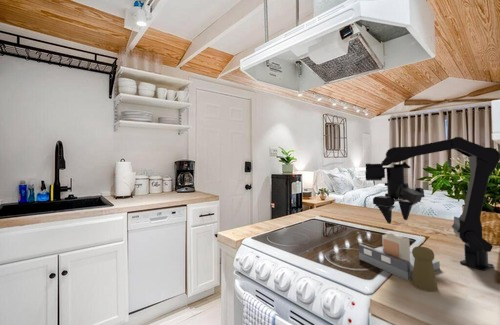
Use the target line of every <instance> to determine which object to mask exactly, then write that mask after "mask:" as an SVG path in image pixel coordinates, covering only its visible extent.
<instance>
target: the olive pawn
mask: <svg viewBox="0 0 500 325" xmlns="http://www.w3.org/2000/svg"><path fill="white" fill-rule="evenodd" d="M411 250H412V251H411V252H412V254H413V257H414V258H415V260H414V269H413V278H412V279H411V285H412V286H413V287H414V288H416V289H418V290H421V291H424V292H437V291H438V283H437V278H436V274H435V271H434V268H433V263H432V261H433V260H435V253H434V251H433V249H431V248H429V247H426V246H415V247H412V249H411Z"/></svg>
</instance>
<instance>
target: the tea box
mask: <svg viewBox="0 0 500 325" xmlns="http://www.w3.org/2000/svg"><path fill="white" fill-rule="evenodd" d="M381 239H382V240H381V241H382V242H381V243H382V246H383V252H385V253H387V254H390V255H393V256H396V257H398V258H401V259H404V260H407V261H409V262H410V252H411V246H410V238H408V237H406V236H405V237H404V236H401V235H397V234H394V233H388V234H387V233H386V234H383V235H382V236H381Z"/></svg>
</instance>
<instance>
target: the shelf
mask: <svg viewBox="0 0 500 325" xmlns="http://www.w3.org/2000/svg"><path fill="white" fill-rule="evenodd" d="M358 259H359V260H361V261H362V262H365V263H367V264H370V265H372V266H373V267H376V268H379V269H381V270H383V271H385V270H386V271H385V272H387V271H388V272H387V273H389V274H390V273H391V274H392V275H395V276H397V277H399V278H402V279H404V280H405V281H412V278H413V269H414V260H415V258H414V257H413V254H412V251H410V262H409V261H407V260H404V259H401V258H398V257H396V256H393V255H390V254H387V253H385V252H383V245H382V246H378V247H375V248H373V247H371V246H368V245H365V244H363V243H360V244H358ZM432 263H433V268H434V272H435V271H438V270H440V268H441V267H440V264H441V262H440V261H439V260H437V259H434V260H433V261H432Z"/></svg>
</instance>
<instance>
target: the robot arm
mask: <svg viewBox="0 0 500 325" xmlns="http://www.w3.org/2000/svg"><path fill="white" fill-rule="evenodd" d="M449 150H455V151H456V152H458V153H460V154H461V155H463V156H465V157H466V158H468V165H469V166H468V167H469V170H470V177H469V182H468V187H467V191H466V195H465V196H466V197H465V200H464V206H463V210H462V214H461V215H460V216H459V217H458V216H454V217H453V224H452V225H451V228H452V229H453V233H454V234H455V235H456V237H458V238H459V239H460V240H461V242H462V243H464V245H463V248H464V259H463V260H460V261H459V264H461V265H465V266H469V267H471V268H474V269H478V270H480V271H486V270H489V269H491V268H494V266H495V264H493V263H489V253H490V252H491V251H492V249H493V247H494V246H493V245H492V244H491V243H490V242H488V241H487V240H486V239H485V238H483V226H482V222H481V216H482V210H483V205H484V201H485V197H486V193H487V192H486V191H487V188H488V184H489V179H490V176H491V174H492V173H494V171H495V169H496V168H497V167H498V164H499V162H500V152H499V151H498V150H497V149H496V148H493V147H489V146H488V147H485V146H483V145H480V144H477V143H475V142H472V141H469V140H467V139H466V138H463V137H461V136H455V137H451V138H449V139H444V140H439V141H434V142H428V143H424V144H420V145H419V144H418V145H413V146H396V147H390V148H388V149H387V150H386V152H385V157H384V158H383V160H382V161H381V163H366V164H365V171H364V173H365V181H367V182H369V181H381V182H382V181H383V179H384V178H385V179H386V182H385V183H384V186H385V187H386V188H387V190H386V191H387V193H385V194H384V195H378V196H374V197H373V198H372V204H373V205H375V207H377V208H378V210H379V211H380V212H381V214H382V216H383V218H384V219H385V221H386V222H387V224H391V223H392V212H393V209H394V208H396V206H395V202H398V206H399V208H400V212H401V215H402V216H401V217H402V219H403V220H404V221H408V219H409V216H410V213H411V210H412V208H413V206H415V205H416V204H418V203H420V202H421V201H422V198H425V196H426V195H425V190H424V188H422V187H416V188H410V187H409V183H408V182H406V178H405V177H406V176H405V169H411V166H410V165H408V164H407V162H406V160H409V159H412V158H415V157H417V156H423V155H428V154H434V153H439V152H446V151H449ZM400 162H402V163H400ZM396 163H397V164H396ZM391 164H392V166H390V165H391ZM385 170H386V172H385Z"/></svg>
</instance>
